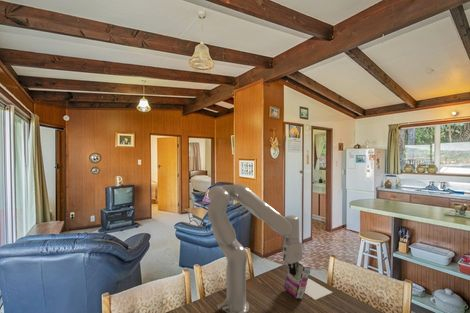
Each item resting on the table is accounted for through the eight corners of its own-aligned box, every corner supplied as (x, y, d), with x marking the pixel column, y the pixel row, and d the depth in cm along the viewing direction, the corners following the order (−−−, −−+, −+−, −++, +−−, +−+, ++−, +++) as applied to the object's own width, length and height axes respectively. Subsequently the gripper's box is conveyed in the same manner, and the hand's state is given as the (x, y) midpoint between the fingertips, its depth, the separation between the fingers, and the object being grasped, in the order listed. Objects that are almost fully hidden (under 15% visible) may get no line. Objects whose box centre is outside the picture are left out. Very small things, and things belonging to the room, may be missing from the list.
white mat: (315, 300, 127) (315, 299, 127) (289, 283, 144) (289, 282, 144) (332, 292, 134) (332, 292, 134) (306, 277, 150) (306, 276, 150)
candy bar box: (303, 299, 128) (311, 268, 130) (295, 298, 126) (304, 266, 128) (290, 288, 139) (298, 259, 140) (283, 287, 137) (291, 258, 138)
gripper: (285, 245, 125) (286, 281, 125) (307, 239, 132) (308, 273, 133) (276, 240, 131) (276, 274, 132) (297, 235, 139) (297, 267, 139)
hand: (292, 274), depth 132 cm, fingers closed
